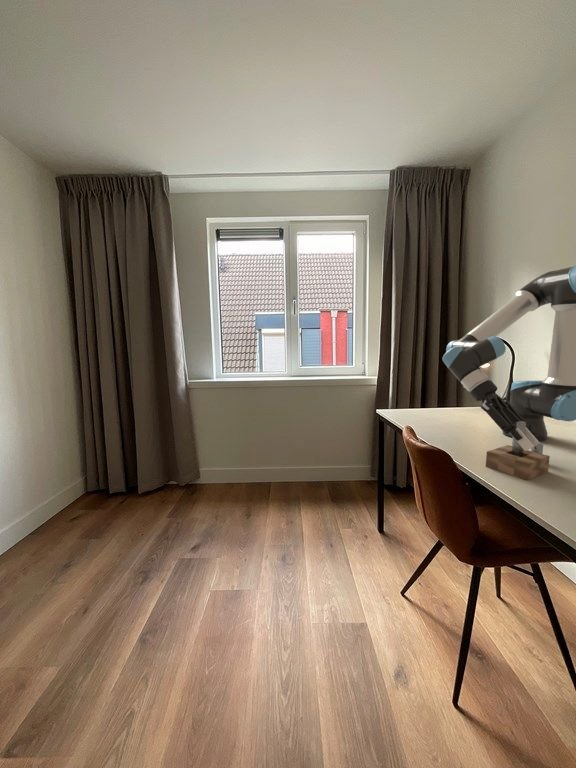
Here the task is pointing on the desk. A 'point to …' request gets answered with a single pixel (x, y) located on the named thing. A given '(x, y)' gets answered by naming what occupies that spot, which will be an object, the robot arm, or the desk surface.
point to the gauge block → (517, 462)
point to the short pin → (538, 448)
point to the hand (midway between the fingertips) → (532, 447)
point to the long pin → (516, 447)
